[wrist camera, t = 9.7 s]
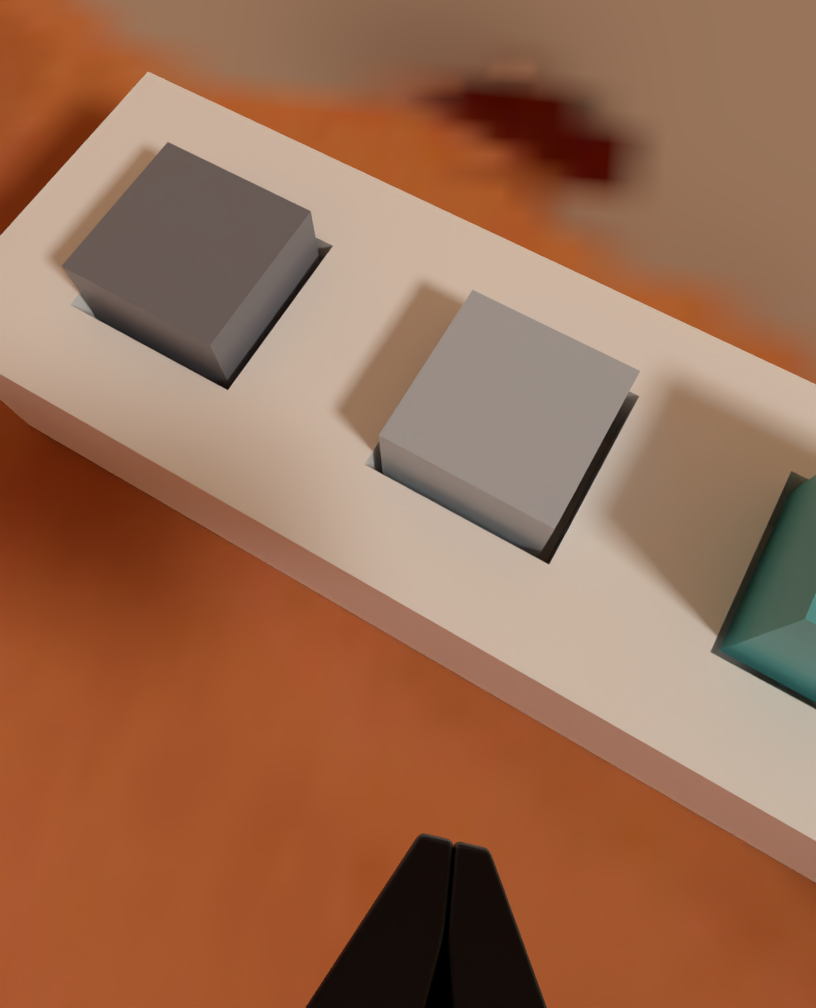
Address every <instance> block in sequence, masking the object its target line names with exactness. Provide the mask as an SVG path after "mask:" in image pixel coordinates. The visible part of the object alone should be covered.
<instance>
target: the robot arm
mask: <svg viewBox="0 0 816 1008" xmlns="http://www.w3.org/2000/svg"><path fill="white" fill-rule="evenodd" d="M306 1008H547V1007H546V1004H545V1001H544V999H543V996H542V993H541V990H540V988H539V985H538V982H537V979H536V977H535V974H534V971H533V968H532V966H531V963H530V960H529V957H528V954H527V952H526V949H525V946H524V943H523V941H522V938H521V935H520V932H519V930H518V927H517V924H516V921H515V919H514V916H513V913H512V910H511V907H510V905H509V902H508V899H507V896H506V894H505V891H504V888H503V885H502V883H501V880H500V877H499V874H498V872H497V869H496V866H495V863H494V861H493V858H492V855H491V853H490V852H489V850H488V849H487V848H484V847H481V846H477V845H472V844H468V843H464V842H457V843H455V845H454V846H453V844H452V842H451V841H450V840H449V839H446V838H442V837H438V836H433V835H429V834H420V835H419V836H418V837H417V838H416V839H415V841H414V842H413V844H412V845H411V847H410V849H409V850H408V852H407V853H406V855H405V856H404V858H403V859H402V861H401V862H400V864H399V865H398V867H397V868H396V870H395V871H394V873H393V875H392V876H391V878H390V879H389V881H388V882H387V884H386V885H385V887H384V888H383V890H382V891H381V893H380V894H379V896H378V897H377V899H376V900H375V902H374V904H373V905H372V907H371V908H370V910H369V911H368V913H367V914H366V916H365V917H364V919H363V920H362V922H361V923H360V925H359V926H358V928H357V930H356V931H355V933H354V934H353V936H352V937H351V939H350V940H349V942H348V943H347V945H346V946H345V948H344V949H343V951H342V952H341V954H340V956H339V957H338V959H337V960H336V962H335V963H334V965H333V966H332V968H331V969H330V971H329V972H328V974H327V975H326V977H325V978H324V980H323V982H322V983H321V985H320V986H319V988H318V989H317V991H316V992H315V994H314V995H313V997H312V998H311V1000H310V1001H309V1003H308V1004H307V1006H306Z"/></svg>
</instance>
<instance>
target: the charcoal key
mask: <svg viewBox="0 0 816 1008" xmlns="http://www.w3.org/2000/svg"><path fill="white" fill-rule="evenodd" d="M319 264H320V259H319V253H318V248H317V242H316V237H315V231H314V226H313V220H312V215H311V211H309V210H307V209H305V208H303V207H301V206H299V205H297V204H295V203H293V202H291V201H289V200H287V199H285V198H283V197H281V196H278V195H276V194H274V193H272V192H270V191H268V190H266V189H264V188H262V187H260V186H258V185H256V184H254V183H252V182H250V181H248V180H245V179H243V178H241V177H239V176H237V175H235V174H233V173H231V172H229V171H227V170H225V169H223V168H221V167H219V166H217V165H215V164H212V163H210V162H208V161H206V160H204V159H202V158H200V157H198V156H196V155H194V154H192V153H190V152H188V151H186V150H184V149H182V148H179V147H177V146H175V145H173V144H171V143H169V142H167V143H166V145H165V146H164V147H163V148H162V149H161V150H160V152H159V153H158V154H157V155H156V156H155V157H154V159H153V160H152V161H151V162H150V163H149V164H148V166H147V167H146V168H145V169H144V170H143V171H142V173H141V174H140V175H139V176H138V177H137V178H136V180H135V181H134V182H133V183H132V184H131V185H130V187H129V188H128V189H127V190H126V191H125V192H124V194H123V195H122V196H121V197H120V198H119V199H118V201H117V202H116V203H115V204H114V205H113V206H112V208H111V209H110V210H109V211H108V212H107V213H106V215H105V216H104V217H103V218H102V219H101V220H100V222H99V223H98V224H97V225H96V226H95V227H94V229H93V230H92V231H91V232H90V233H89V234H88V236H87V237H86V238H85V239H84V240H83V241H82V243H81V244H80V245H79V246H78V247H77V248H76V250H75V251H74V252H73V253H72V254H71V255H70V257H69V258H68V259H67V260H66V261H65V262H64V264H63V265H62V267H63V269H64V270H65V272H66V273H67V275H68V276H69V277H70V279H71V280H72V282H73V283H74V284H75V286H76V287H77V289H78V290H79V292H80V293H81V294H82V296H83V297H84V299H85V300H86V302H87V303H88V304H89V306H90V307H91V309H92V310H93V311H94V313H95V314H96V316H97V317H98V319H99V320H100V321H101V322H103V323H105V324H106V325H108V326H110V327H112V328H114V329H116V330H117V331H119V332H121V333H123V334H125V335H127V336H129V337H130V338H132V339H134V340H136V341H138V342H140V343H141V344H143V345H145V346H147V347H149V348H151V349H153V350H154V351H156V352H158V353H160V354H162V355H164V356H165V357H167V358H169V359H171V360H173V361H175V362H176V363H178V364H180V365H182V366H184V367H186V368H188V369H189V370H191V371H193V372H195V373H197V374H199V375H200V376H202V377H204V378H206V379H208V380H210V381H211V382H213V383H215V384H217V385H219V386H221V387H223V388H224V389H226V390H228V389H229V388H230V387H231V385H232V384H233V383H234V381H235V380H236V378H237V377H238V376H239V374H240V373H241V372H242V370H243V369H244V367H245V366H246V365H247V363H248V362H249V361H250V359H251V358H252V356H253V355H254V354H255V352H256V351H257V350H258V348H259V347H260V345H261V344H262V343H263V341H264V340H265V339H266V337H267V336H268V335H269V333H270V332H271V330H272V329H273V328H274V326H275V325H276V324H277V322H278V321H279V319H280V318H281V317H282V315H283V314H284V313H285V311H286V310H287V308H288V307H289V306H290V304H291V303H292V302H293V300H294V299H295V297H296V296H297V295H298V293H299V292H300V291H301V289H302V288H303V286H304V285H305V284H306V282H307V281H308V280H309V278H310V277H311V275H312V274H313V273H314V271H315V270H316V269H317V267H318V266H319Z"/></svg>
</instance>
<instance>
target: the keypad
mask: <svg viewBox="0 0 816 1008" xmlns="http://www.w3.org/2000/svg"><path fill="white" fill-rule="evenodd" d="M167 142H169V143H171V144H173V145H175V146H177V147H179V148H182V149H184V150H186V151H188V152H190V153H192V154H194V155H196V156H198V157H200V158H202V159H204V160H206V161H208V162H210V163H212V164H215V165H217V166H219V167H221V168H223V169H225V170H227V171H229V172H231V173H233V174H235V175H237V176H239V177H241V178H243V179H245V180H248V181H250V182H252V183H254V184H256V185H258V186H260V187H262V188H264V189H266V190H268V191H270V192H272V193H274V194H276V195H278V196H281V197H283V198H285V199H287V200H289V201H291V202H293V203H295V204H297V205H299V206H301V207H303V208H305V209H307V210H309V211H311V215H312V220H313V226H314V231H315V237H316V242H317V248H318V253H319V259H320V264H319V266H318V267H317V269H316V270H315V271H314V273H313V274H312V275H311V277H310V278H309V280H308V281H307V282H306V284H305V285H304V286H303V288H302V289H301V291H300V292H299V293H298V295H297V296H296V297H295V299H294V300H293V302H292V303H291V304H290V306H289V307H288V308H287V310H286V311H285V313H284V314H283V315H282V317H281V318H280V319H279V321H278V322H277V324H276V325H275V326H274V328H273V329H272V330H271V332H270V333H269V335H268V336H267V337H266V339H265V340H264V341H263V343H262V344H261V345H260V347H259V348H258V350H257V351H256V352H255V354H254V355H253V356H252V358H251V359H250V361H249V362H248V363H247V365H246V366H245V367H244V369H243V370H242V372H241V373H240V374H239V376H238V377H237V378H236V380H235V381H234V383H233V384H232V385H231V387H230V388H229V389H228V390H226V389H224V388H223V387H221V386H219V385H217V384H215V383H213V382H211V381H210V380H208V379H206V378H204V377H202V376H200V375H199V374H197V373H195V372H193V371H191V370H189V369H188V368H186V367H184V366H182V365H180V364H178V363H176V362H175V361H173V360H171V359H169V358H167V357H165V356H164V355H162V354H160V353H158V352H156V351H154V350H153V349H151V348H149V347H147V346H145V345H143V344H141V343H140V342H138V341H136V340H134V339H132V338H130V337H129V336H127V335H125V334H123V333H121V332H119V331H117V330H116V329H114V328H112V327H110V326H108V325H106V324H105V323H103V322H101V321H100V320H99V319H98V317H97V316H96V314H95V313H94V311H93V310H92V309H91V307H90V306H89V304H88V303H87V302H86V300H85V299H84V297H83V296H82V294H81V293H80V292H79V290H78V289H77V287H76V286H75V284H74V283H73V282H72V280H71V279H70V277H69V276H68V275H67V273H66V272H65V270H64V269H63V267H62V265H63V264H64V262H65V261H66V260H67V259H68V258H69V257H70V255H71V254H72V253H73V252H74V251H75V250H76V248H77V247H78V246H79V245H80V244H81V243H82V241H83V240H84V239H85V238H86V237H87V236H88V234H89V233H90V232H91V231H92V230H93V229H94V227H95V226H96V225H97V224H98V223H99V222H100V220H101V219H102V218H103V217H104V216H105V215H106V213H107V212H108V211H109V210H110V209H111V208H112V206H113V205H114V204H115V203H116V202H117V201H118V199H119V198H120V197H121V196H122V195H123V194H124V192H125V191H126V190H127V189H128V188H129V187H130V185H131V184H132V183H133V182H134V181H135V180H136V178H137V177H138V176H139V175H140V174H141V173H142V171H143V170H144V169H145V168H146V167H147V166H148V164H149V163H150V162H151V161H152V160H153V159H154V157H155V156H156V155H157V154H158V153H159V152H160V150H161V149H162V148H163V147H164V146H165V145H166V143H167ZM472 290H474V291H476V292H478V293H480V294H482V295H484V296H486V297H488V298H491V299H493V300H495V301H497V302H499V303H501V304H503V305H505V306H507V307H509V308H511V309H513V310H515V311H517V312H519V313H521V314H524V315H526V316H528V317H530V318H532V319H534V320H536V321H538V322H540V323H542V324H544V325H546V326H548V327H550V328H552V329H554V330H557V331H559V332H561V333H563V334H565V335H567V336H569V337H571V338H573V339H575V340H577V341H579V342H581V343H583V344H585V345H587V346H590V347H592V348H594V349H596V350H598V351H600V352H602V353H604V354H606V355H608V356H610V357H612V358H614V359H616V360H618V361H620V362H623V363H625V364H627V365H629V366H631V367H633V368H635V369H637V370H639V371H640V372H639V374H638V376H637V378H636V380H635V382H634V383H633V385H632V387H631V389H630V391H629V393H628V395H627V396H626V398H625V400H624V402H623V404H622V406H621V408H620V409H619V411H618V413H617V415H616V417H615V419H614V421H613V422H612V424H611V426H610V428H609V430H608V432H607V434H606V435H605V437H604V439H603V441H602V443H601V445H600V446H599V448H598V450H597V452H596V454H595V456H594V458H593V459H592V461H591V463H590V465H589V467H588V469H587V471H586V472H585V474H584V476H583V478H582V480H581V482H580V484H579V485H578V487H577V489H576V491H575V493H574V495H573V497H572V498H571V500H570V502H569V504H568V506H567V508H566V509H565V511H564V513H563V515H562V517H561V519H560V521H559V522H558V524H557V526H556V528H555V530H554V531H553V533H552V535H551V536H550V538H549V540H548V541H547V543H546V544H545V546H544V548H543V549H542V551H541V553H540V554H539V556H538V558H536V557H534V556H532V555H530V554H529V553H527V552H525V551H523V550H521V549H519V548H517V547H516V546H514V545H512V544H510V543H508V542H506V541H505V540H503V539H501V538H499V537H497V536H495V535H493V534H492V533H490V532H488V531H486V530H484V529H482V528H481V527H479V526H477V525H475V524H473V523H471V522H470V521H468V520H466V519H464V518H462V517H460V516H458V515H457V514H455V513H453V512H451V511H449V510H447V509H446V508H444V507H442V506H440V505H438V504H436V503H435V502H433V501H431V500H429V499H427V498H425V497H423V496H422V495H420V494H418V493H416V492H414V491H412V490H411V489H409V488H407V487H405V486H403V485H401V484H399V483H398V482H396V481H394V480H392V479H390V478H388V477H387V476H385V475H383V473H382V463H381V453H380V442H379V434H380V433H381V431H382V429H383V428H384V426H385V425H386V423H387V422H388V420H389V419H390V417H391V416H392V414H393V412H394V411H395V409H396V408H397V406H398V405H399V403H400V402H401V400H402V398H403V397H404V395H405V394H406V392H407V391H408V389H409V388H410V386H411V384H412V383H413V381H414V380H415V378H416V377H417V375H418V374H419V372H420V370H421V369H422V367H423V366H424V364H425V363H426V361H427V360H428V358H429V357H430V355H431V353H432V352H433V350H434V349H435V347H436V346H437V344H438V343H439V341H440V339H441V338H442V336H443V335H444V333H445V332H446V330H447V329H448V327H449V325H450V324H451V322H452V321H453V319H454V318H455V316H456V315H457V313H458V311H459V310H460V308H461V307H462V305H463V304H464V302H465V301H466V299H467V297H468V296H469V294H470V293H471V291H472ZM0 400H1V401H2V402H3V403H4V404H6V405H7V406H8V407H9V408H10V409H11V410H12V411H13V412H15V413H16V414H17V415H18V416H19V417H20V418H21V419H23V420H24V421H25V422H26V423H27V424H28V425H30V426H31V427H33V428H35V429H37V430H38V431H40V432H42V433H44V434H45V435H47V436H49V437H50V438H52V439H54V440H56V441H57V442H59V443H61V444H62V445H64V446H66V447H68V448H69V449H71V450H73V451H74V452H76V453H78V454H80V455H81V456H83V457H85V458H86V459H88V460H90V461H92V462H93V463H95V464H97V465H98V466H100V467H102V468H104V469H105V470H107V471H109V472H111V473H112V474H114V475H116V476H117V477H119V478H121V479H123V480H124V481H126V482H128V483H129V484H131V485H133V486H135V487H136V488H138V489H140V490H141V491H143V492H145V493H147V494H148V495H150V496H152V497H153V498H155V499H157V500H159V501H160V502H162V503H164V504H165V505H167V506H169V507H171V508H172V509H174V510H176V511H178V512H179V513H181V514H183V515H184V516H186V517H188V518H190V519H191V520H193V521H195V522H196V523H198V524H200V525H202V526H203V527H205V528H207V529H208V530H210V531H212V532H214V533H215V534H217V535H219V536H220V537H222V538H224V539H226V540H227V541H229V542H231V543H232V544H234V545H236V546H238V547H239V548H241V549H243V550H245V551H246V552H248V553H250V554H251V555H253V556H255V557H257V558H258V559H260V560H262V561H263V562H265V563H267V564H269V565H270V566H272V567H274V568H275V569H277V570H279V571H281V572H282V573H284V574H286V575H287V576H289V577H291V578H293V579H294V580H296V581H298V582H299V583H301V584H303V585H305V586H306V587H308V588H310V589H311V590H313V591H315V592H317V593H318V594H320V595H322V596H324V597H325V598H327V599H329V600H330V601H332V602H334V603H336V604H337V605H339V606H341V607H342V608H344V609H346V610H348V611H349V612H351V613H353V614H354V615H356V616H358V617H360V618H361V619H363V620H365V621H366V622H368V623H370V624H372V625H373V626H375V627H377V628H378V629H380V630H382V631H384V632H385V633H387V634H389V635H391V636H392V637H394V638H396V639H397V640H399V641H401V642H403V643H404V644H406V645H408V646H409V647H411V648H413V649H415V650H416V651H418V652H420V653H421V654H423V655H425V656H427V657H428V658H430V659H432V660H433V661H435V662H437V663H439V664H440V665H442V666H444V667H445V668H447V669H449V670H451V671H452V672H454V673H456V674H458V675H459V676H461V677H463V678H464V679H466V680H468V681H470V682H471V683H473V684H475V685H476V686H478V687H480V688H482V689H483V690H485V691H487V692H488V693H490V694H492V695H494V696H495V697H497V698H499V699H500V700H502V701H504V702H506V703H507V704H509V705H511V706H512V707H514V708H516V709H518V710H519V711H521V712H523V713H525V714H526V715H528V716H530V717H531V718H533V719H535V720H537V721H538V722H540V723H542V724H543V725H545V726H547V727H549V728H550V729H552V730H554V731H555V732H557V733H559V734H561V735H562V736H564V737H566V738H567V739H569V740H571V741H573V742H574V743H576V744H578V745H579V746H581V747H583V748H585V749H586V750H588V751H590V752H592V753H593V754H595V755H597V756H598V757H600V758H602V759H604V760H605V761H607V762H609V763H610V764H612V765H614V766H616V767H617V768H619V769H621V770H622V771H624V772H626V773H628V774H629V775H631V776H633V777H634V778H636V779H638V780H640V781H641V782H643V783H645V784H646V785H648V786H650V787H652V788H653V789H655V790H657V791H659V792H660V793H662V794H664V795H665V796H667V797H669V798H671V799H672V800H674V801H676V802H677V803H679V804H681V805H683V806H684V807H686V808H688V809H689V810H691V811H693V812H695V813H696V814H698V815H700V816H701V817H703V818H705V819H707V820H708V821H710V822H712V823H713V824H715V825H717V826H719V827H720V828H722V829H724V830H726V831H727V832H729V833H731V834H732V835H734V836H736V837H738V838H739V839H741V840H743V841H744V842H746V843H748V844H750V845H751V846H753V847H755V848H756V849H758V850H760V851H762V852H763V853H765V854H767V855H768V856H770V857H772V858H774V859H775V860H777V861H779V862H780V863H782V864H784V865H786V866H787V867H789V868H791V869H793V870H794V871H796V872H798V873H799V874H801V875H803V876H805V877H806V878H808V879H810V880H811V881H813V882H815V883H816V702H814V701H812V700H810V699H809V698H807V697H805V696H803V695H801V694H799V693H797V692H796V691H794V690H792V689H790V688H788V687H786V686H784V685H783V684H781V683H779V682H777V681H775V680H773V679H772V678H770V677H768V676H766V675H764V674H762V673H760V672H759V671H757V670H755V669H753V668H751V667H749V666H748V665H746V664H744V663H742V662H740V661H738V660H736V659H735V658H733V657H731V656H729V655H727V654H725V653H723V652H722V651H720V648H721V646H722V644H723V641H724V639H725V637H726V635H727V632H728V630H729V628H730V625H731V623H732V621H733V619H734V616H735V614H736V612H737V610H738V607H739V605H740V603H741V601H742V598H743V596H744V594H745V592H746V589H747V587H748V585H749V583H750V580H751V578H752V576H753V574H754V571H755V569H756V567H757V565H758V562H759V560H760V558H761V556H762V553H763V551H764V549H765V547H766V544H767V542H768V540H769V538H770V535H771V533H772V531H773V529H774V526H775V524H776V522H777V520H778V517H779V515H780V513H781V511H782V508H783V506H784V504H785V502H786V499H787V497H788V495H789V493H791V492H792V491H793V490H795V489H796V488H798V487H799V486H800V485H802V484H803V483H805V482H806V481H807V480H809V479H810V478H812V477H813V476H814V475H816V384H814V383H811V382H809V381H807V380H805V379H803V378H801V377H799V376H797V375H794V374H792V373H790V372H788V371H786V370H784V369H782V368H779V367H777V366H775V365H773V364H771V363H769V362H767V361H765V360H762V359H760V358H758V357H756V356H754V355H752V354H750V353H747V352H745V351H743V350H741V349H739V348H737V347H735V346H733V345H730V344H728V343H726V342H724V341H722V340H720V339H718V338H715V337H713V336H711V335H709V334H707V333H705V332H703V331H700V330H698V329H696V328H694V327H692V326H690V325H688V324H686V323H683V322H681V321H679V320H677V319H675V318H673V317H671V316H668V315H666V314H664V313H662V312H660V311H658V310H656V309H654V308H651V307H649V306H647V305H645V304H643V303H641V302H639V301H636V300H634V299H632V298H630V297H628V296H626V295H624V294H622V293H619V292H617V291H615V290H613V289H611V288H609V287H607V286H604V285H602V284H600V283H598V282H596V281H594V280H592V279H590V278H587V277H585V276H583V275H581V274H579V273H577V272H575V271H572V270H570V269H568V268H566V267H564V266H562V265H560V264H557V263H555V262H553V261H551V260H549V259H547V258H545V257H543V256H540V255H538V254H536V253H534V252H532V251H530V250H528V249H525V248H523V247H521V246H519V245H517V244H515V243H513V242H511V241H508V240H506V239H504V238H502V237H500V236H498V235H496V234H493V233H491V232H489V231H487V230H485V229H483V228H481V227H479V226H476V225H474V224H472V223H470V222H468V221H466V220H464V219H461V218H459V217H457V216H455V215H453V214H451V213H449V212H447V211H444V210H442V209H440V208H438V207H436V206H434V205H432V204H429V203H427V202H425V201H423V200H421V199H419V198H417V197H414V196H412V195H410V194H408V193H406V192H404V191H402V190H400V189H397V188H395V187H393V186H391V185H389V184H387V183H385V182H382V181H380V180H378V179H376V178H374V177H372V176H370V175H368V174H365V173H363V172H361V171H359V170H357V169H355V168H353V167H350V166H348V165H346V164H344V163H342V162H340V161H338V160H336V159H333V158H331V157H329V156H327V155H325V154H323V153H321V152H318V151H316V150H314V149H312V148H310V147H308V146H306V145H304V144H301V143H299V142H297V141H295V140H293V139H291V138H289V137H286V136H284V135H282V134H280V133H278V132H276V131H274V130H271V129H269V128H267V127H265V126H263V125H261V124H259V123H257V122H254V121H252V120H250V119H248V118H246V117H244V116H242V115H239V114H237V113H235V112H233V111H231V110H229V109H227V108H225V107H222V106H220V105H218V104H216V103H214V102H212V101H210V100H207V99H205V98H203V97H201V96H199V95H197V94H195V93H193V92H190V91H188V90H186V89H184V88H182V87H180V86H178V85H175V84H173V83H171V82H169V81H167V80H165V79H163V78H161V77H158V76H156V75H154V74H152V73H150V72H147V73H146V74H145V76H144V77H143V78H142V79H141V80H140V81H139V82H138V83H137V84H136V86H135V87H134V88H133V89H132V90H131V91H130V92H129V93H128V94H127V96H126V97H125V98H124V99H123V100H122V101H121V102H120V103H119V104H118V106H117V107H116V108H115V109H114V110H113V111H112V112H111V113H110V114H109V116H108V117H107V118H106V119H105V120H104V121H103V122H102V123H101V124H100V126H99V127H98V128H97V129H96V130H95V131H94V132H93V133H92V134H91V136H90V137H89V138H88V139H87V140H86V141H85V142H84V143H83V144H82V146H81V147H80V148H79V149H78V150H77V151H76V152H75V153H74V154H73V156H72V157H71V158H70V159H69V160H68V161H67V162H66V163H65V164H64V166H63V167H62V168H61V169H60V170H59V171H58V172H57V173H56V174H55V176H54V177H53V178H52V179H51V180H50V181H49V182H48V183H47V184H46V186H45V187H44V188H43V189H42V190H41V191H40V192H39V193H38V194H37V196H36V197H35V198H34V199H33V200H32V201H31V202H30V203H29V204H28V206H27V207H26V208H25V209H24V210H23V211H22V212H21V213H20V214H19V216H18V217H17V218H16V219H15V220H14V221H13V222H12V223H11V224H10V225H9V227H8V228H7V229H6V230H5V231H4V232H3V233H2V234H1V235H0Z"/></svg>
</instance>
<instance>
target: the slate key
mask: <svg viewBox="0 0 816 1008" xmlns="http://www.w3.org/2000/svg"><path fill="white" fill-rule="evenodd" d="M639 372H640V371H639V370H637V369H635V368H633V367H631V366H629V365H627V364H625V363H623V362H620V361H618V360H616V359H614V358H612V357H610V356H608V355H606V354H604V353H602V352H600V351H598V350H596V349H594V348H592V347H590V346H587V345H585V344H583V343H581V342H579V341H577V340H575V339H573V338H571V337H569V336H567V335H565V334H563V333H561V332H559V331H557V330H554V329H552V328H550V327H548V326H546V325H544V324H542V323H540V322H538V321H536V320H534V319H532V318H530V317H528V316H526V315H524V314H521V313H519V312H517V311H515V310H513V309H511V308H509V307H507V306H505V305H503V304H501V303H499V302H497V301H495V300H493V299H491V298H488V297H486V296H484V295H482V294H480V293H478V292H476V291H474V290H472V291H471V293H470V294H469V296H468V297H467V299H466V301H465V302H464V304H463V305H462V307H461V308H460V310H459V311H458V313H457V315H456V316H455V318H454V319H453V321H452V322H451V324H450V325H449V327H448V329H447V330H446V332H445V333H444V335H443V336H442V338H441V339H440V341H439V343H438V344H437V346H436V347H435V349H434V350H433V352H432V353H431V355H430V357H429V358H428V360H427V361H426V363H425V364H424V366H423V367H422V369H421V370H420V372H419V374H418V375H417V377H416V378H415V380H414V381H413V383H412V384H411V386H410V388H409V389H408V391H407V392H406V394H405V395H404V397H403V398H402V400H401V402H400V403H399V405H398V406H397V408H396V409H395V411H394V412H393V414H392V416H391V417H390V419H389V420H388V422H387V423H386V425H385V426H384V428H383V429H382V431H381V433H380V434H379V442H380V453H381V463H382V473H383V475H385V476H387V477H388V478H390V479H392V480H394V481H396V482H398V483H399V484H401V485H403V486H405V487H407V488H409V489H411V490H412V491H414V492H416V493H418V494H420V495H422V496H423V497H425V498H427V499H429V500H431V501H433V502H435V503H436V504H438V505H440V506H442V507H444V508H446V509H447V510H449V511H451V512H453V513H455V514H457V515H458V516H460V517H462V518H464V519H466V520H468V521H470V522H471V523H473V524H475V525H477V526H479V527H481V528H482V529H484V530H486V531H488V532H490V533H492V534H493V535H495V536H497V537H499V538H501V539H503V540H505V541H506V542H508V543H510V544H512V545H514V546H516V547H517V548H519V549H521V550H523V551H525V552H527V553H529V554H530V555H532V556H534V557H536V558H538V556H539V554H540V553H541V551H542V549H543V548H544V546H545V544H546V543H547V541H548V540H549V538H550V536H551V535H552V533H553V531H554V530H555V528H556V526H557V524H558V522H559V521H560V519H561V517H562V515H563V513H564V511H565V509H566V508H567V506H568V504H569V502H570V500H571V498H572V497H573V495H574V493H575V491H576V489H577V487H578V485H579V484H580V482H581V480H582V478H583V476H584V474H585V472H586V471H587V469H588V467H589V465H590V463H591V461H592V459H593V458H594V456H595V454H596V452H597V450H598V448H599V446H600V445H601V443H602V441H603V439H604V437H605V435H606V434H607V432H608V430H609V428H610V426H611V424H612V422H613V421H614V419H615V417H616V415H617V413H618V411H619V409H620V408H621V406H622V404H623V402H624V400H625V398H626V396H627V395H628V393H629V391H630V389H631V387H632V385H633V383H634V382H635V380H636V378H637V376H638V374H639Z"/></svg>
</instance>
